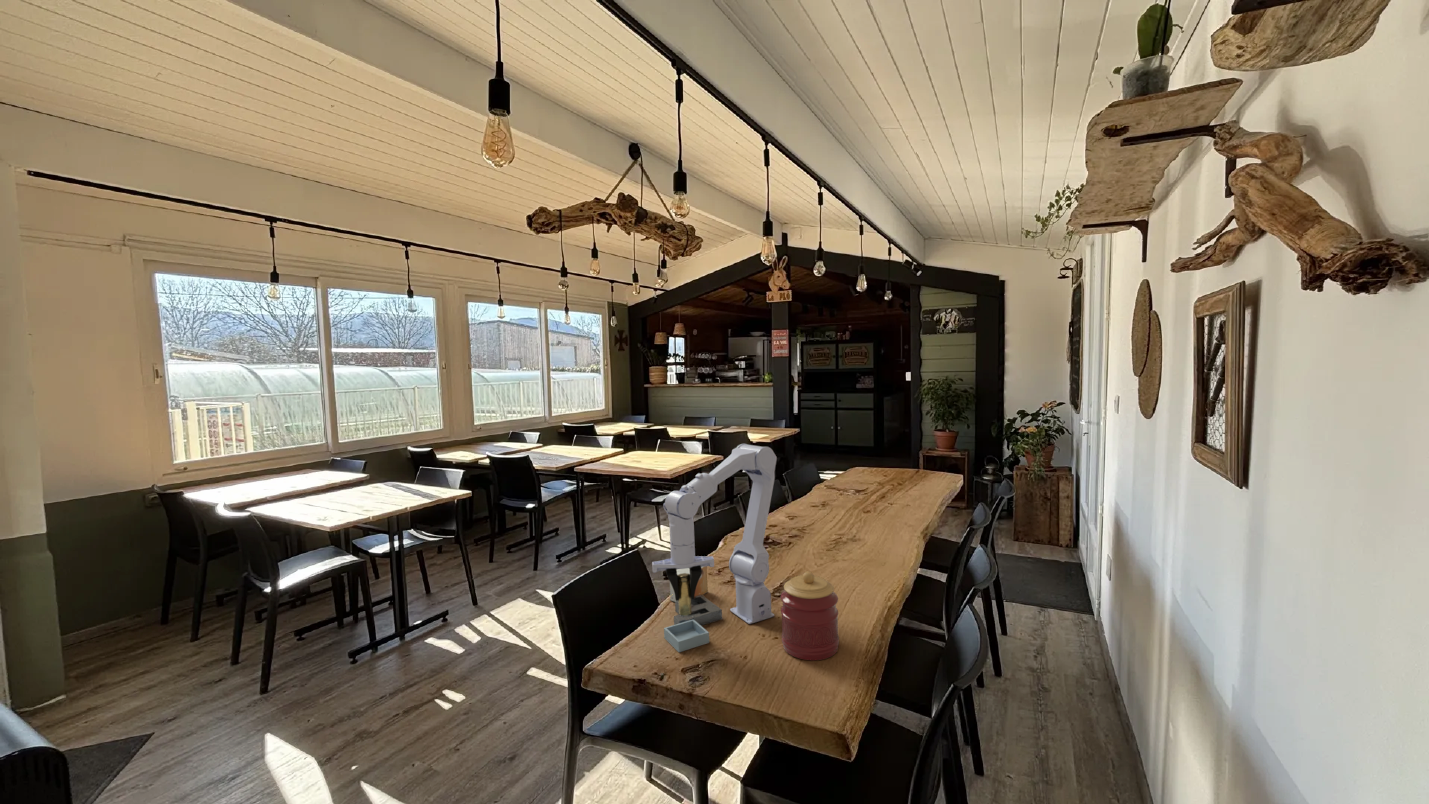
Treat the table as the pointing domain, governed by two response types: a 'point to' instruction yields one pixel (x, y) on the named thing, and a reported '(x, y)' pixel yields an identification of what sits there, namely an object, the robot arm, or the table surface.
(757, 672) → the table surface
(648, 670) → the table surface
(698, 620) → the socket block
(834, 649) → the canister
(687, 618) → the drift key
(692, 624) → the tray
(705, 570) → the small box
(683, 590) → the gold metallic cylinder
